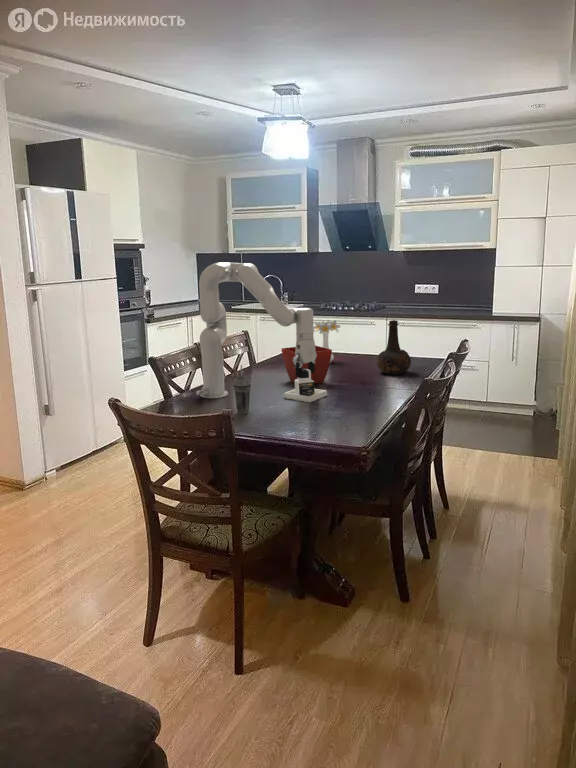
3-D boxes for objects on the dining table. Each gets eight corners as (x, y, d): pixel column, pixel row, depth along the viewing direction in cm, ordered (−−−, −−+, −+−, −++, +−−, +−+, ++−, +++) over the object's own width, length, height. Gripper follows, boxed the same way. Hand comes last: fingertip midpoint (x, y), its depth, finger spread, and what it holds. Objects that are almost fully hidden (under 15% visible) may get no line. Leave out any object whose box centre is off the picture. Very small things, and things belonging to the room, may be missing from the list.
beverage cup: (252, 409, 241) (250, 362, 237) (251, 414, 234) (250, 365, 230) (234, 410, 241) (232, 362, 236) (233, 415, 234) (231, 366, 229)
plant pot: (281, 380, 295) (280, 347, 292) (313, 376, 304) (313, 344, 300) (299, 388, 279) (298, 353, 275) (333, 383, 287) (333, 349, 283)
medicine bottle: (299, 398, 257) (298, 371, 254) (295, 394, 263) (293, 368, 261) (314, 396, 258) (313, 370, 256) (310, 393, 265) (309, 367, 262)
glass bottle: (417, 374, 304) (418, 321, 298) (387, 378, 297) (388, 323, 291) (398, 368, 320) (399, 318, 314) (370, 371, 314) (370, 319, 307)
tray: (309, 402, 251) (309, 396, 251) (283, 398, 260) (283, 392, 259) (326, 395, 262) (326, 390, 262) (301, 392, 271) (301, 386, 270)
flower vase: (309, 360, 348) (309, 318, 342) (340, 360, 346) (340, 318, 340) (308, 364, 335) (307, 321, 330) (340, 364, 333) (340, 321, 328)
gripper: (300, 339, 246) (301, 379, 250) (322, 334, 260) (322, 372, 263) (286, 338, 250) (287, 377, 254) (308, 333, 264) (309, 370, 268)
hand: (305, 374), depth 259 cm, fingers open, 9 cm apart
